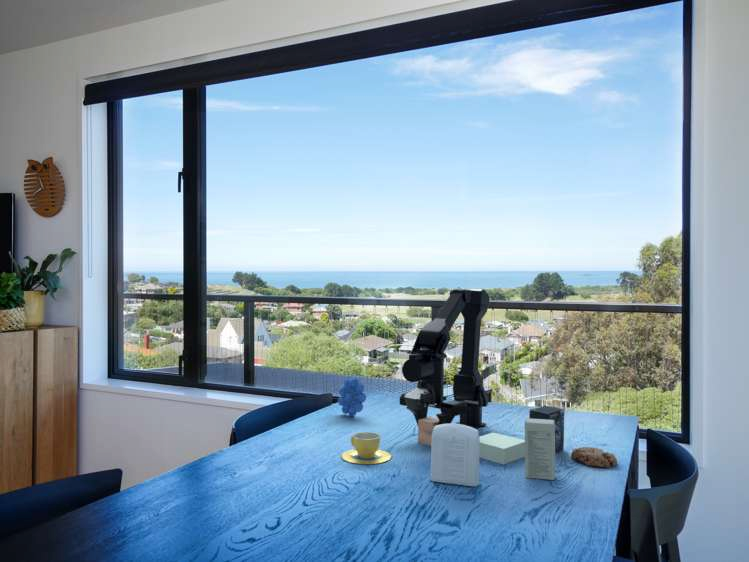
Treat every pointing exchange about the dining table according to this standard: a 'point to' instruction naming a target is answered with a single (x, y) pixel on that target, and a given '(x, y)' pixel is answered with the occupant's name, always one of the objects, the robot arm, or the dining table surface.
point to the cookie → (594, 457)
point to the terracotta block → (426, 429)
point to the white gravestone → (455, 454)
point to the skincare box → (540, 448)
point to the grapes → (352, 396)
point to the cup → (366, 449)
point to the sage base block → (501, 448)
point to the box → (552, 414)
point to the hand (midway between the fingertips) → (431, 436)
